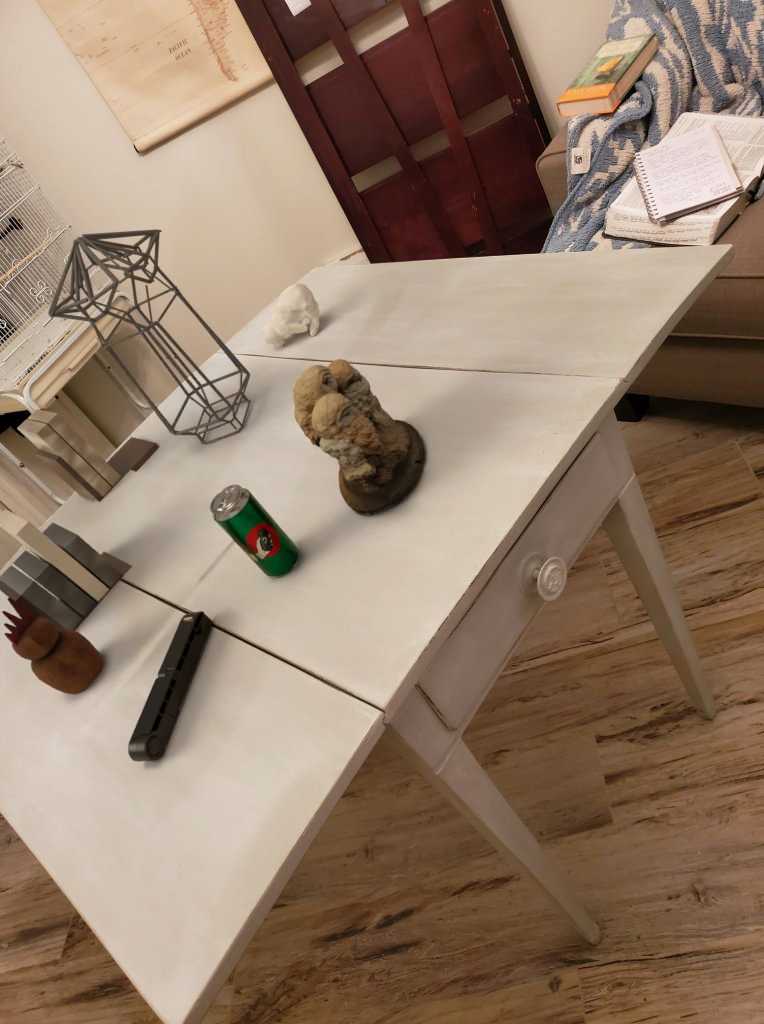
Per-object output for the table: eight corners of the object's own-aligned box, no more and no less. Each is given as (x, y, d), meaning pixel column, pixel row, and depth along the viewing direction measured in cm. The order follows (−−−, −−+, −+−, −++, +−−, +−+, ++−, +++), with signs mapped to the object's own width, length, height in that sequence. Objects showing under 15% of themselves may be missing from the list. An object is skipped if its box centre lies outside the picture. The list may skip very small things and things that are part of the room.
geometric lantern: (177, 466, 118) (12, 288, 97) (205, 405, 129) (62, 233, 107) (254, 440, 112) (96, 243, 90) (277, 379, 122) (140, 189, 101)
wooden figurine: (103, 648, 94) (14, 580, 85) (119, 666, 90) (27, 597, 80) (63, 689, 92) (-32, 625, 83) (78, 710, 88) (-21, 644, 78)
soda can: (307, 544, 88) (251, 478, 81) (293, 578, 85) (233, 513, 78) (274, 548, 91) (218, 484, 83) (260, 581, 88) (199, 518, 80)
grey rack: (71, 643, 98) (15, 602, 92) (45, 623, 105) (-9, 583, 99) (137, 569, 103) (87, 525, 97) (108, 555, 109) (60, 512, 103)
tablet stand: (159, 765, 75) (140, 753, 73) (141, 766, 76) (122, 753, 74) (215, 621, 87) (200, 607, 85) (199, 623, 88) (184, 609, 86)
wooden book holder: (103, 505, 121) (32, 438, 112) (81, 496, 128) (11, 432, 118) (159, 446, 126) (95, 377, 117) (134, 440, 133) (72, 374, 123)
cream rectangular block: (98, 601, 100) (15, 534, 91) (73, 585, 106) (-7, 520, 97) (109, 589, 101) (28, 521, 92) (83, 574, 107) (5, 508, 98)
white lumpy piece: (300, 288, 120) (244, 325, 124) (330, 327, 125) (275, 362, 129) (301, 272, 125) (247, 309, 129) (329, 310, 130) (277, 344, 134)
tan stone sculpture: (436, 496, 83) (366, 384, 72) (346, 537, 85) (267, 434, 75) (416, 410, 96) (355, 306, 86) (339, 447, 99) (271, 350, 89)
